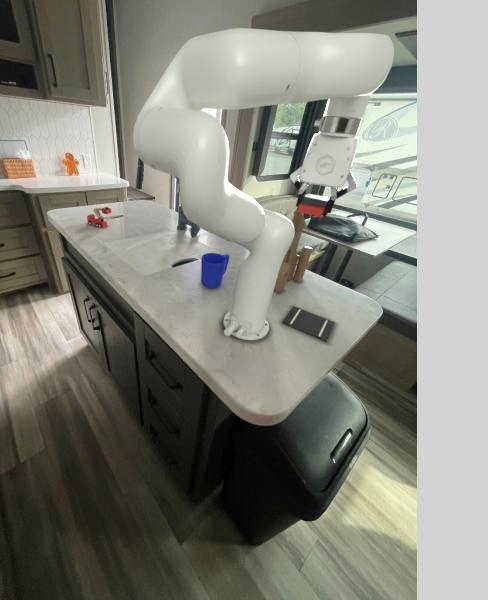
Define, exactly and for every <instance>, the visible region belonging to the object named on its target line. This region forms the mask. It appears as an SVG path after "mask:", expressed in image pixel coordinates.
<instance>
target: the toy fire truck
mask: <svg viewBox="0 0 488 600" xmlns="http://www.w3.org/2000/svg"><path fill="white" fill-rule="evenodd" d="M101 212H102V214H104V215H109V214H112V209H111V208H110V207H108V206H104V207H96V208H94V209H93V213H91V214H88V215H86V220H87V224H89V225H90V226H91V225H93V226H96V227H99V228H105V227H106V226H107V227H108V222H107V221H106V220H105V217H104V216H102V214H101ZM96 216H97V218H96Z"/></svg>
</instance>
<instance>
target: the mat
mask: <svg viewBox="0 0 488 600" xmlns="http://www.w3.org/2000/svg"><path fill="white" fill-rule="evenodd" d="M282 324H283V325H286V326H289V327H290V328H293V329H294V330H298V331H300V332H302V333H305V334H307V335H309V336H312V337H314V338H316V339H318V340H320V341H323V342H327V340H328V338H329V336H330V334H331V331H332V329H333V326H334V324H335V321H333V320H330V319H327V318H324V317H322V316H319V315H317V314H314V313H312V312H309V311H307V310H305V309H302V308H300V307H297V306H293V308H292V309H291V310H290V312H289V313H288V314H287V316H286V318H285V319H284V320H283V322H282Z"/></svg>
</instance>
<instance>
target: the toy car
mask: <svg viewBox="0 0 488 600" xmlns="http://www.w3.org/2000/svg"><path fill="white" fill-rule="evenodd" d="M329 198H330V197H329V196H328V197H327V196H323V195H318V194H312V193H306V195H305V196H304V197H303V200H302V203H301V204H300V205H299V208H298V207H297V208H298V211H297V210H296V211H297V212H298V214H301V213H303V214H304V215H310V216H315V217H317V219H321V218H322V217H323V213H324V210H325V207H326V204H327V201H328V199H329Z"/></svg>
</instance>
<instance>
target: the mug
mask: <svg viewBox="0 0 488 600" xmlns="http://www.w3.org/2000/svg"><path fill="white" fill-rule="evenodd" d="M200 259H201V262H200V263H201V264H200V265H201V266H200V267H201V268H200V275H201V276H200V282H201V284H202V286H203V287H204V288H206V289H217V288H219V287H221V285H222V282H223V278H224V275H225V273H226V271H227V269H228V265H229V261H230V254H229V253H224V254H220V253H217V252H207V253H203V255H201V258H200Z"/></svg>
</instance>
